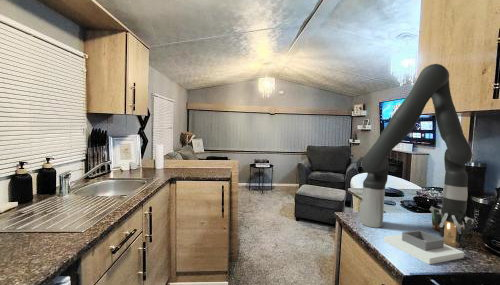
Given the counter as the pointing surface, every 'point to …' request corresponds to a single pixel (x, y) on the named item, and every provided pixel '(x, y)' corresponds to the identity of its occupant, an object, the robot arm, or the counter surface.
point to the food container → (434, 225)
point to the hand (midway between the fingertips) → (451, 239)
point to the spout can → (450, 234)
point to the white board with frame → (424, 246)
